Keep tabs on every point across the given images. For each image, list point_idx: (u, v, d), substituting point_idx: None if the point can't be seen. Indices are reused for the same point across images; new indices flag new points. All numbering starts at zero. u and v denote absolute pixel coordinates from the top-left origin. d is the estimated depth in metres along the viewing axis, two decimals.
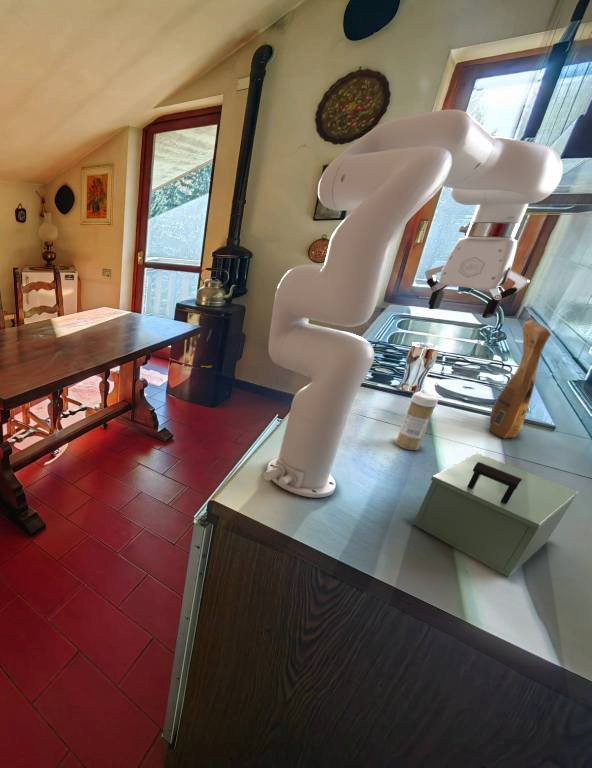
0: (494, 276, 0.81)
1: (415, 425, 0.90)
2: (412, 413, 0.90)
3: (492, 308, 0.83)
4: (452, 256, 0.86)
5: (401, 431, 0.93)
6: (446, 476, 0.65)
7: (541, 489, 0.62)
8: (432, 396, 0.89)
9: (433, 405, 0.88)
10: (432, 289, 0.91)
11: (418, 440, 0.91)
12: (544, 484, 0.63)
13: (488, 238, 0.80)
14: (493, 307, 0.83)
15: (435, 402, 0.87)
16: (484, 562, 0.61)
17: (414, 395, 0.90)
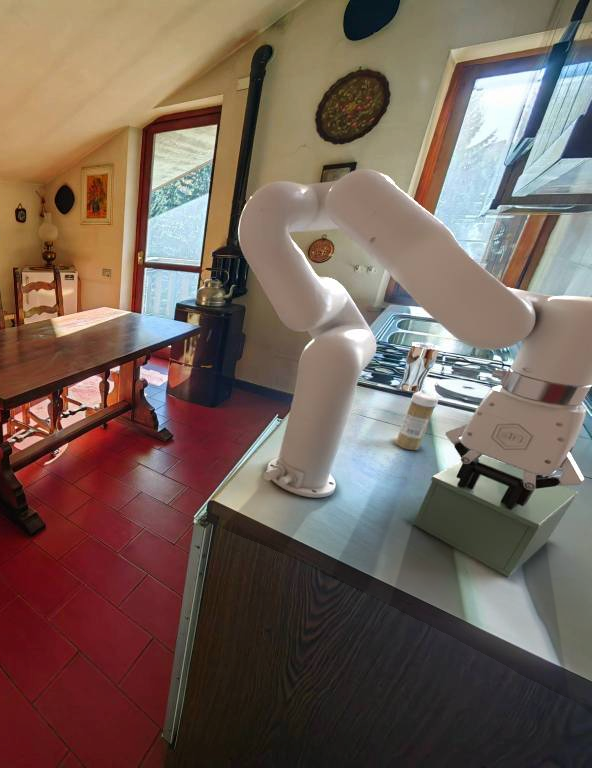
0: (549, 459, 0.52)
1: (415, 425, 0.90)
2: (412, 413, 0.90)
3: (521, 498, 0.57)
4: (481, 413, 0.58)
5: (401, 431, 0.93)
6: (446, 476, 0.65)
7: (541, 489, 0.62)
8: (432, 396, 0.89)
9: (433, 405, 0.88)
10: (463, 460, 0.62)
11: (418, 440, 0.91)
12: None
13: (540, 403, 0.52)
14: (522, 497, 0.57)
15: (435, 402, 0.87)
16: (484, 562, 0.61)
17: (414, 395, 0.90)
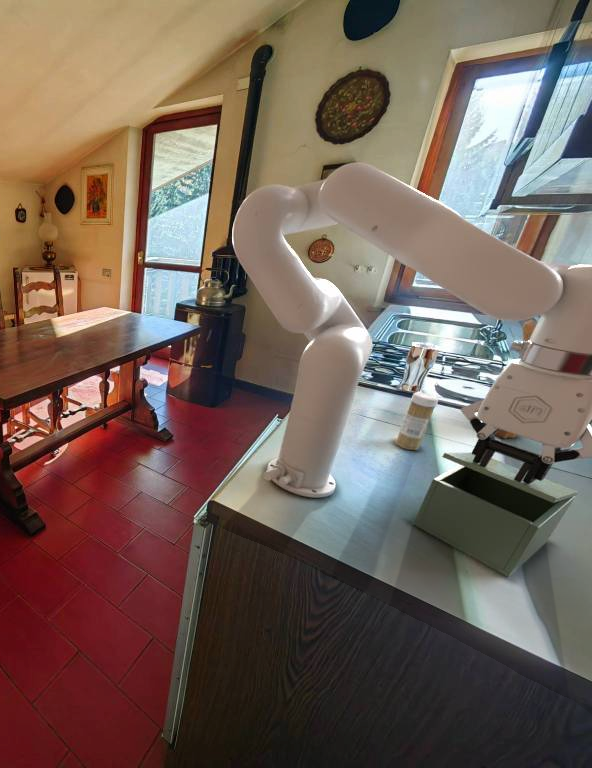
0: (568, 431, 0.52)
1: (415, 425, 0.90)
2: (412, 413, 0.90)
3: (539, 472, 0.56)
4: (499, 387, 0.57)
5: (401, 431, 0.93)
6: (457, 456, 0.64)
7: (546, 482, 0.62)
8: (432, 396, 0.89)
9: (433, 405, 0.88)
10: (479, 436, 0.61)
11: (418, 440, 0.91)
12: (546, 481, 0.63)
13: (560, 374, 0.51)
14: (540, 471, 0.56)
15: (435, 402, 0.87)
16: (484, 562, 0.61)
17: (414, 395, 0.90)
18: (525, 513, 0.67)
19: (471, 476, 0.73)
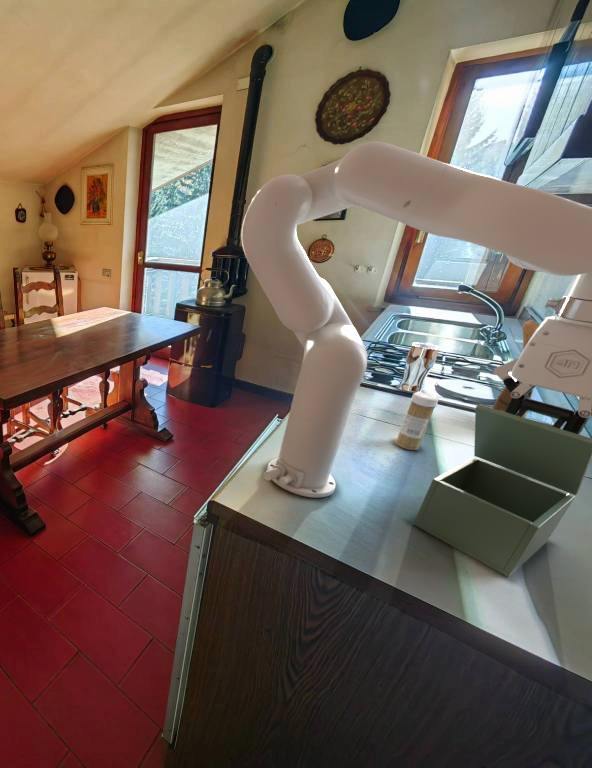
0: None
1: (415, 425, 0.90)
2: (412, 413, 0.90)
3: (575, 427, 0.57)
4: (535, 344, 0.58)
5: (401, 431, 0.93)
6: None
7: None
8: (432, 396, 0.89)
9: (433, 405, 0.88)
10: (513, 395, 0.62)
11: (418, 440, 0.91)
12: None
13: None
14: (576, 426, 0.57)
15: (435, 402, 0.87)
16: (484, 562, 0.61)
17: (414, 395, 0.90)
18: (525, 513, 0.67)
19: (471, 476, 0.73)
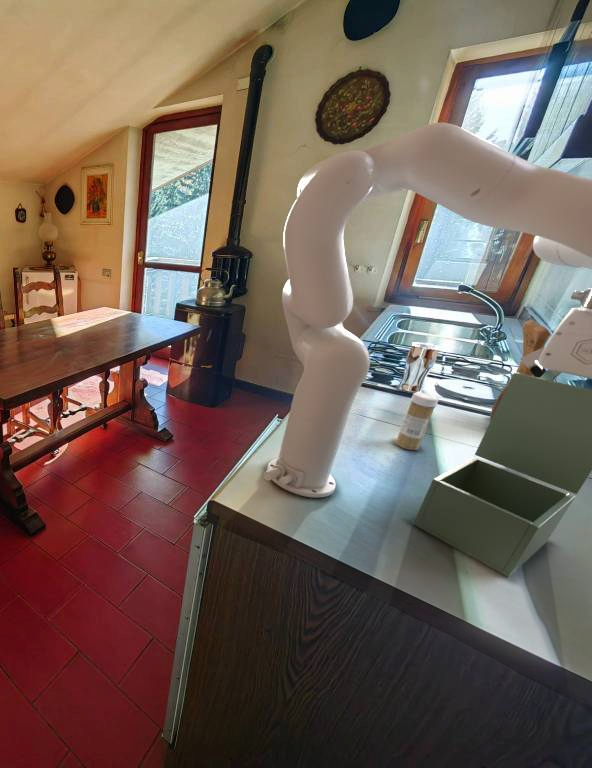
0: None
1: (415, 425, 0.90)
2: (412, 413, 0.90)
3: None
4: (561, 333, 0.62)
5: (401, 431, 0.93)
6: None
7: None
8: (432, 396, 0.89)
9: (433, 405, 0.88)
10: None
11: (418, 440, 0.91)
12: None
13: None
14: None
15: (435, 402, 0.87)
16: (484, 562, 0.61)
17: (414, 395, 0.90)
18: (525, 513, 0.67)
19: (471, 476, 0.73)
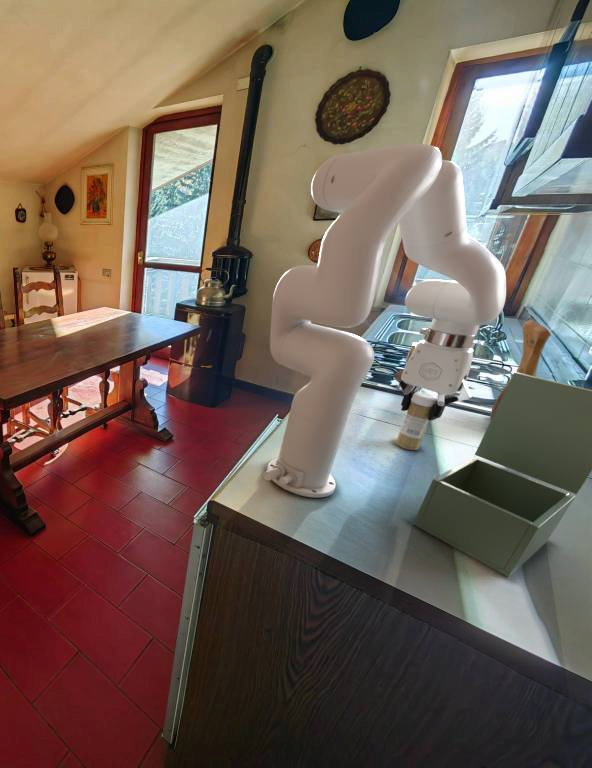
0: (451, 383, 0.83)
1: (415, 425, 0.90)
2: (412, 413, 0.90)
3: (436, 412, 0.87)
4: (413, 358, 0.88)
5: (401, 431, 0.93)
6: None
7: None
8: (432, 396, 0.89)
9: None
10: (404, 392, 0.92)
11: (418, 440, 0.91)
12: None
13: (445, 347, 0.82)
14: (437, 411, 0.87)
15: (435, 402, 0.87)
16: (484, 562, 0.61)
17: (414, 395, 0.90)
18: (525, 513, 0.67)
19: (471, 476, 0.73)
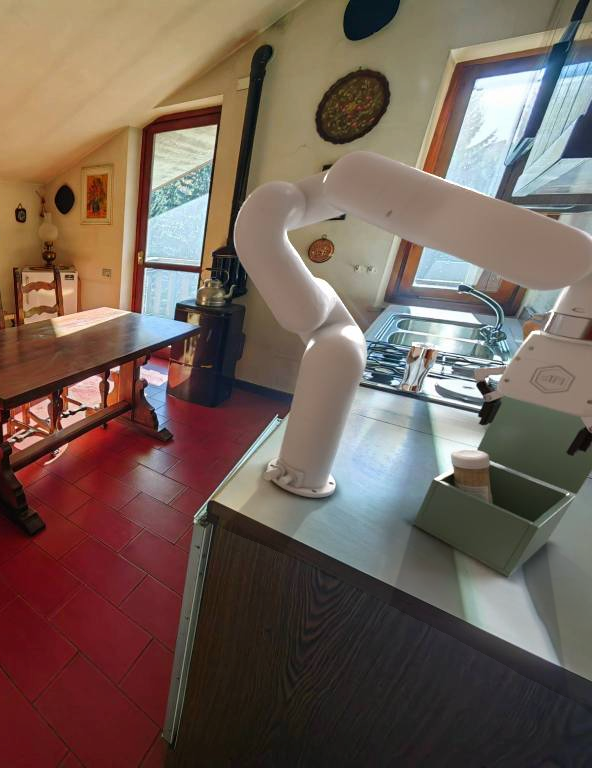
0: (591, 399, 0.52)
1: None
2: (461, 481, 0.65)
3: (584, 443, 0.54)
4: (520, 358, 0.57)
5: None
6: None
7: None
8: (478, 453, 0.65)
9: (485, 466, 0.63)
10: (485, 398, 0.62)
11: None
12: None
13: (584, 342, 0.51)
14: (586, 442, 0.54)
15: (486, 461, 0.63)
16: (484, 562, 0.61)
17: (453, 456, 0.66)
18: (525, 513, 0.67)
19: None
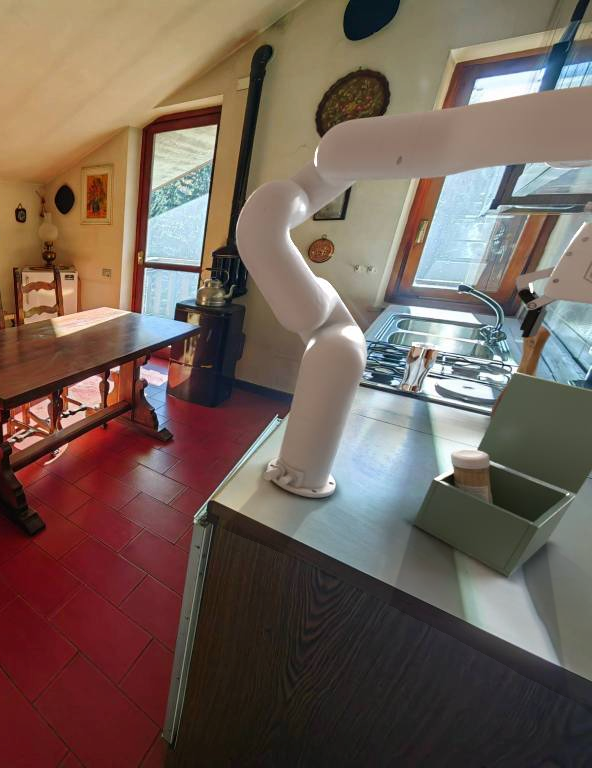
0: None
1: None
2: (461, 481, 0.65)
3: None
4: (571, 253, 0.51)
5: None
6: None
7: None
8: (478, 453, 0.65)
9: (485, 466, 0.63)
10: (528, 306, 0.56)
11: None
12: None
13: None
14: None
15: (486, 461, 0.63)
16: (484, 562, 0.61)
17: (453, 456, 0.66)
18: (525, 513, 0.67)
19: None
